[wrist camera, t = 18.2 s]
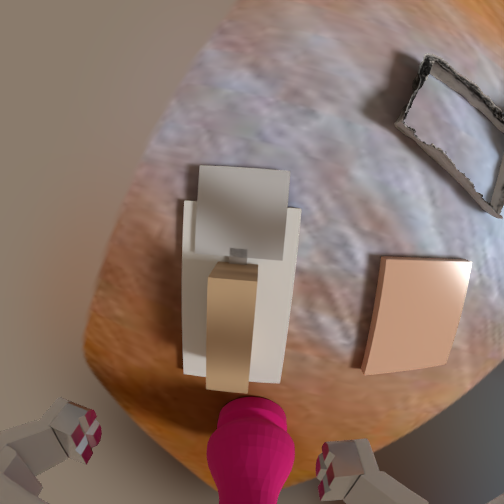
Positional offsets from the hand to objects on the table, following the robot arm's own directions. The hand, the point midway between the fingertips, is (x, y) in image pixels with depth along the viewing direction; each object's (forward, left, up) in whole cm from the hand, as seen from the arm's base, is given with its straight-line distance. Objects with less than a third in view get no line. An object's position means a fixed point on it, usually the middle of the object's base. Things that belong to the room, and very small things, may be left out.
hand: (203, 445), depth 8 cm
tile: (+1, +11, -13) cm, 17 cm away
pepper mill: (+12, +2, -14) cm, 18 cm away
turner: (-3, 0, -13) cm, 13 cm away
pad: (0, 0, -14) cm, 14 cm away
